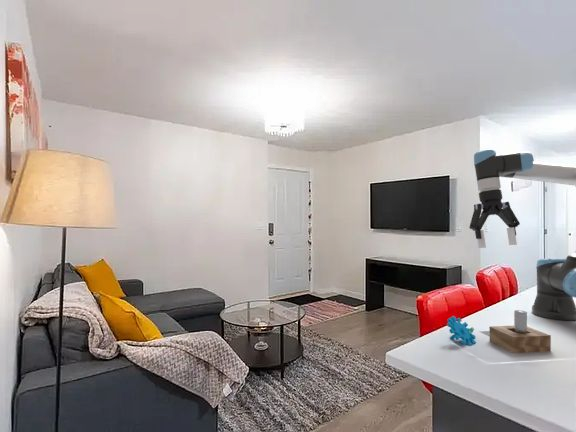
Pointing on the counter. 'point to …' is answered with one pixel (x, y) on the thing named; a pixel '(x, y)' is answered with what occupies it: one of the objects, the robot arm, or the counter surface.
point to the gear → (461, 331)
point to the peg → (520, 322)
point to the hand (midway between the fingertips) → (497, 246)
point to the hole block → (520, 339)
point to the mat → (486, 333)
